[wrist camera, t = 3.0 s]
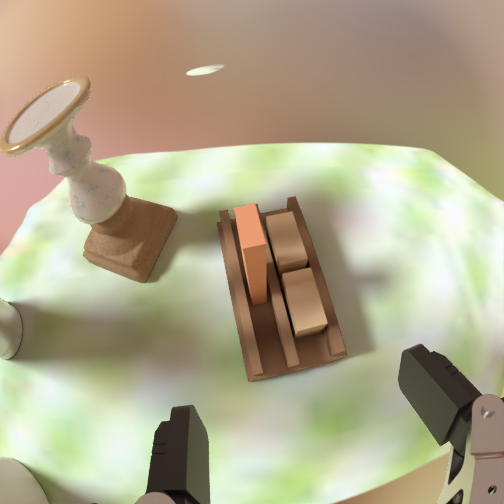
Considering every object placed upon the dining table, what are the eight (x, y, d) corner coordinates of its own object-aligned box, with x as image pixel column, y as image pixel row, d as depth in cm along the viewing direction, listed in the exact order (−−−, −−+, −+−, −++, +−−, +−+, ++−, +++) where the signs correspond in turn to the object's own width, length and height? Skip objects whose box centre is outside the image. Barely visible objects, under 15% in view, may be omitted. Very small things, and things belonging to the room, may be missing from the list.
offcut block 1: (303, 274, 34) (308, 258, 30) (278, 280, 34) (279, 264, 30) (289, 231, 36) (292, 211, 32) (266, 236, 36) (266, 216, 32)
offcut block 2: (319, 332, 31) (327, 323, 27) (293, 338, 31) (297, 331, 27) (305, 282, 33) (310, 267, 29) (280, 288, 33) (282, 273, 29)
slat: (266, 302, 33) (266, 243, 20) (252, 305, 32) (243, 248, 20) (259, 274, 34) (255, 203, 22) (246, 277, 34) (233, 207, 22)
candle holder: (120, 201, 42) (48, 79, 21) (178, 215, 40) (117, 66, 19) (87, 261, 38) (-19, 153, 16) (145, 284, 36) (30, 157, 14)
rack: (343, 357, 31) (354, 352, 27) (249, 381, 30) (246, 380, 26) (298, 212, 39) (301, 192, 35) (218, 228, 39) (213, 209, 35)
